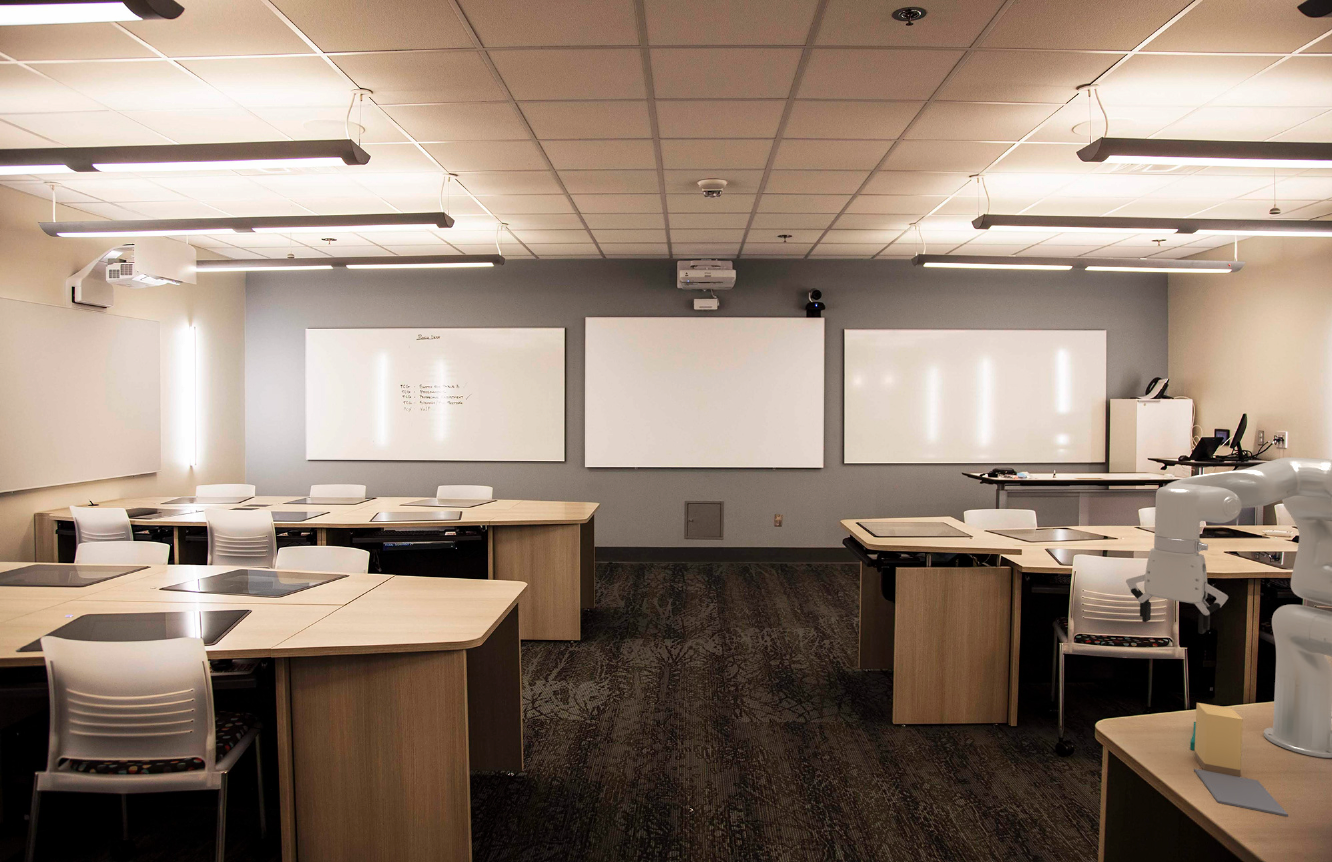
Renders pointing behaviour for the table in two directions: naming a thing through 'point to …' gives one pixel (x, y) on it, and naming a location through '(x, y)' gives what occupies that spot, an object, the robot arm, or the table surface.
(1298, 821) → the table surface
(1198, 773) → the mat
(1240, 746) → the ochre block
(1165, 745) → the table surface
